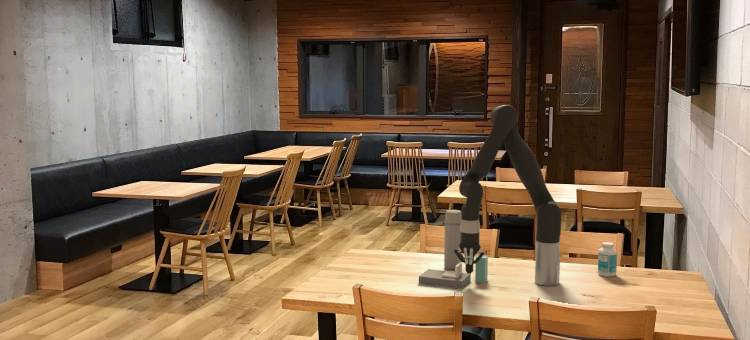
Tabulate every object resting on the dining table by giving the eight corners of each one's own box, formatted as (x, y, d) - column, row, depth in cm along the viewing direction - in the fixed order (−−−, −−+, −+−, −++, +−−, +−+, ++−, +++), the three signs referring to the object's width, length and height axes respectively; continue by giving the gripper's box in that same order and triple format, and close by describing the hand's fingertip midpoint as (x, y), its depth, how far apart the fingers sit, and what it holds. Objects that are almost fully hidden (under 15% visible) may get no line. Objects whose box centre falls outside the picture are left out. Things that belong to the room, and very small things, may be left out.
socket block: (470, 280, 302) (470, 273, 302) (461, 288, 291) (462, 281, 291) (428, 276, 309) (428, 269, 309) (418, 283, 299) (418, 276, 298)
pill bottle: (614, 272, 314) (615, 241, 313) (618, 277, 307) (619, 245, 305) (595, 272, 315) (597, 241, 313) (599, 277, 308) (600, 245, 306)
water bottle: (462, 270, 318) (463, 212, 315) (444, 270, 318) (444, 212, 315) (460, 264, 327) (461, 208, 324) (442, 264, 328) (443, 208, 324)
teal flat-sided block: (487, 279, 304) (487, 256, 302) (484, 282, 300) (485, 258, 299) (477, 278, 305) (478, 255, 304) (475, 281, 302) (475, 257, 300)
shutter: (462, 274, 301) (462, 262, 300) (457, 278, 295) (457, 266, 294) (446, 272, 303) (447, 261, 303) (441, 276, 297) (441, 265, 296)
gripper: (488, 230, 294) (487, 272, 297) (456, 227, 299) (456, 269, 302) (484, 233, 287) (483, 277, 290) (451, 230, 293) (450, 273, 295)
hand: (469, 273), depth 296 cm, fingers closed
